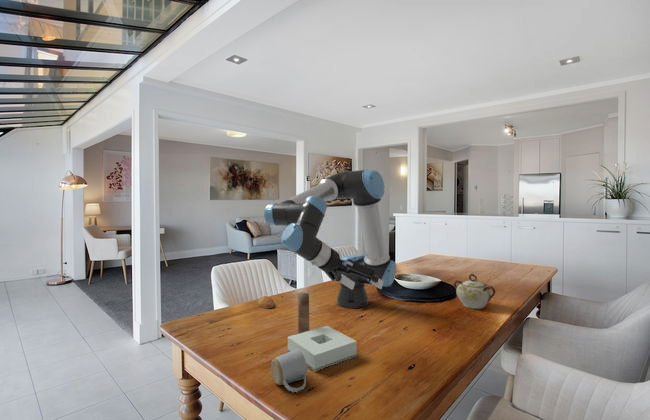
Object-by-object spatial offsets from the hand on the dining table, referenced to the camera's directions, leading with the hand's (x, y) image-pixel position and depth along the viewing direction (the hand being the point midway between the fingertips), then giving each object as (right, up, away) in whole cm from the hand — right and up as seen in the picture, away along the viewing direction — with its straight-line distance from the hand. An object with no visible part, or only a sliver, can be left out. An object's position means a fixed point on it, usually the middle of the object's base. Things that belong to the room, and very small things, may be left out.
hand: (367, 285), depth 115 cm
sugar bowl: (+54, -18, +38) cm, 69 cm away
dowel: (-22, -20, +4) cm, 30 cm away
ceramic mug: (-24, -21, -25) cm, 40 cm away
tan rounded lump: (-42, -19, +41) cm, 62 cm away
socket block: (-16, -20, -9) cm, 27 cm away
